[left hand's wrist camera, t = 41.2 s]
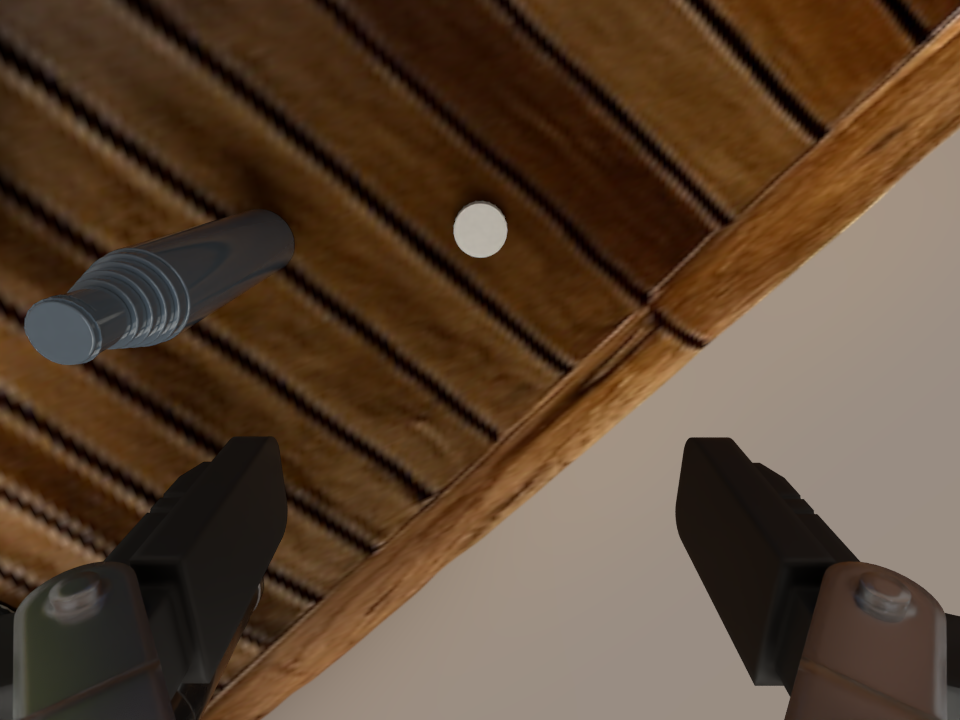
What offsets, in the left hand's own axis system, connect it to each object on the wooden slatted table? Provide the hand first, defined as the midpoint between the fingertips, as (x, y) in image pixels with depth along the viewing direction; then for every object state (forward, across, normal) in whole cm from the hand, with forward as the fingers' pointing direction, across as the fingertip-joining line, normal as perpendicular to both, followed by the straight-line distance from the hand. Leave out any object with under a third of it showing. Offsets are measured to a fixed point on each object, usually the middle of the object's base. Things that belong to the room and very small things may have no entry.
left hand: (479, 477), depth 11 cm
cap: (+33, 0, 0) cm, 33 cm away
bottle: (+35, +17, +1) cm, 39 cm away
